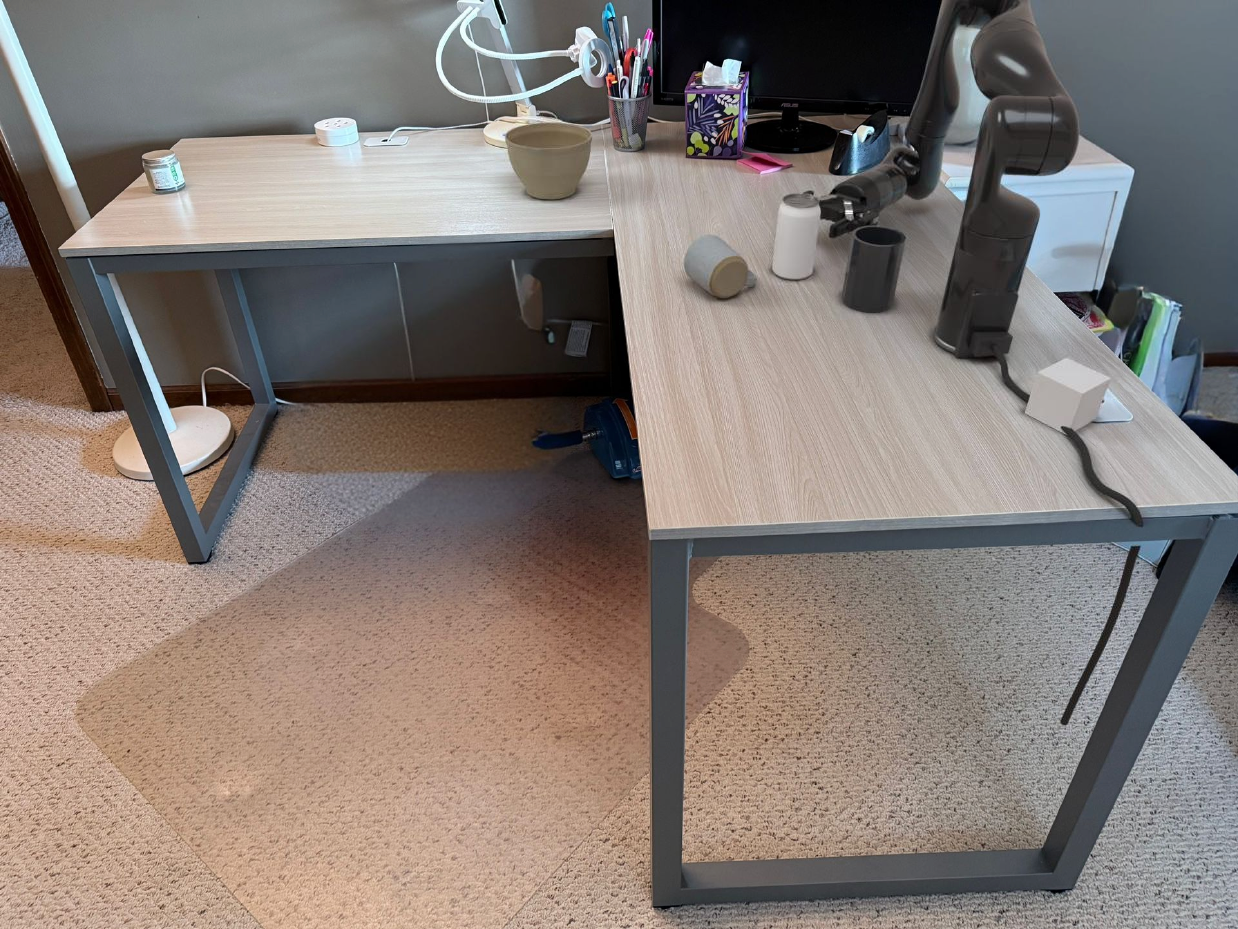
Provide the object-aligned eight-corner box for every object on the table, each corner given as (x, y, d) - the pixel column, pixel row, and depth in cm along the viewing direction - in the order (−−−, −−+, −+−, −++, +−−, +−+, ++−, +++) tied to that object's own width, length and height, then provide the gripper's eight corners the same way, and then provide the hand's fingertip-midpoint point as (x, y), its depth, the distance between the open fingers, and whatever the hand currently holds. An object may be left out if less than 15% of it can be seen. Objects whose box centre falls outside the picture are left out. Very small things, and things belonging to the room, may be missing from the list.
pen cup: (898, 312, 136) (912, 245, 129) (848, 313, 135) (859, 246, 129) (884, 289, 142) (897, 225, 135) (836, 290, 142) (846, 225, 135)
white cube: (1052, 398, 117) (1066, 357, 113) (1095, 419, 113) (1111, 378, 109) (1024, 413, 114) (1037, 372, 111) (1067, 435, 110) (1082, 393, 107)
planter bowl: (605, 200, 172) (604, 141, 165) (523, 212, 167) (519, 152, 160) (576, 172, 184) (575, 117, 177) (499, 183, 179) (494, 126, 172)
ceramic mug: (709, 305, 137) (713, 258, 133) (681, 284, 143) (684, 238, 138) (767, 292, 141) (772, 245, 137) (737, 271, 147) (742, 226, 142)
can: (811, 282, 144) (821, 209, 136) (770, 279, 145) (778, 206, 137) (813, 265, 149) (822, 193, 141) (773, 262, 150) (781, 190, 142)
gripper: (828, 165, 155) (773, 191, 146) (903, 186, 148) (850, 214, 138) (822, 208, 160) (768, 235, 150) (895, 230, 152) (843, 260, 143)
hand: (808, 225), depth 144 cm, fingers open, 8 cm apart
